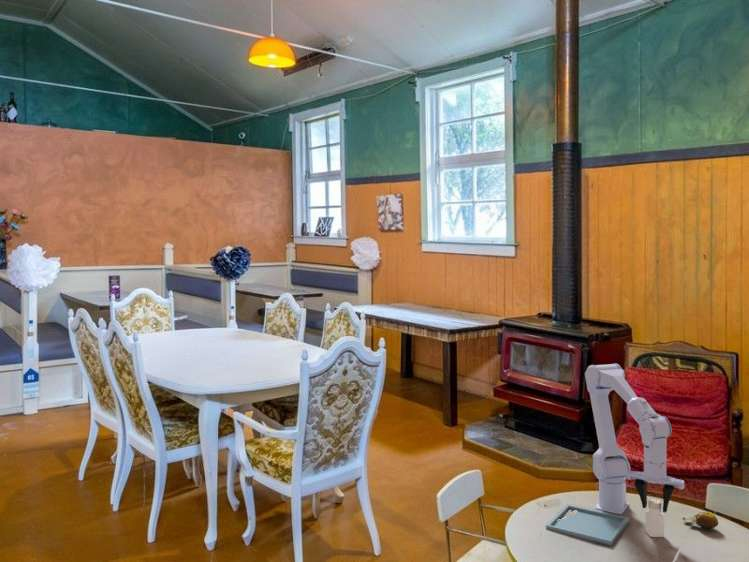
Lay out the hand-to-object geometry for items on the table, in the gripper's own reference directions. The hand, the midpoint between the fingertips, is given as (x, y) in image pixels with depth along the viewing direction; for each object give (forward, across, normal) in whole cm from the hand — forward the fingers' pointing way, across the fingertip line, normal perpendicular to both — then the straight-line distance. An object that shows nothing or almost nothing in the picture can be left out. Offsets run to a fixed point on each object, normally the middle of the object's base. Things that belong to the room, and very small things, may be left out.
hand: (654, 509), depth 176 cm
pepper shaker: (+8, 0, 0) cm, 8 cm away
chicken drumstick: (+9, +6, +15) cm, 19 cm away
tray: (+7, -17, -5) cm, 19 cm away
